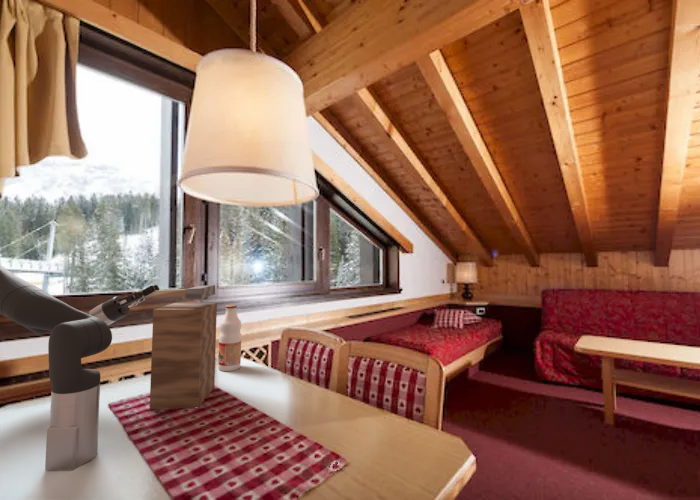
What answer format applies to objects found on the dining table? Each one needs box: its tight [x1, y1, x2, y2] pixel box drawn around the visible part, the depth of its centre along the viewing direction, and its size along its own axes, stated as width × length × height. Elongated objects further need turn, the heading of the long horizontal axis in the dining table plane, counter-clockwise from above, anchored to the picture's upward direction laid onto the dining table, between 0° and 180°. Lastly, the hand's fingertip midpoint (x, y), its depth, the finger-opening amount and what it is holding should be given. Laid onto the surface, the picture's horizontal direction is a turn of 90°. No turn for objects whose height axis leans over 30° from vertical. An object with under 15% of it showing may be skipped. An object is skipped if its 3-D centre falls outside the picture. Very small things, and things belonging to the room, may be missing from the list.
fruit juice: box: [217, 304, 242, 372], centre depth 152 cm, size 9×9×28 cm
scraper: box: [131, 284, 216, 301], centre depth 119 cm, size 16×25×4 cm, turn 96°
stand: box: [149, 302, 218, 410], centre depth 119 cm, size 18×15×32 cm
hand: (155, 287), depth 119 cm, fingers closed on scraper, 2 cm apart
